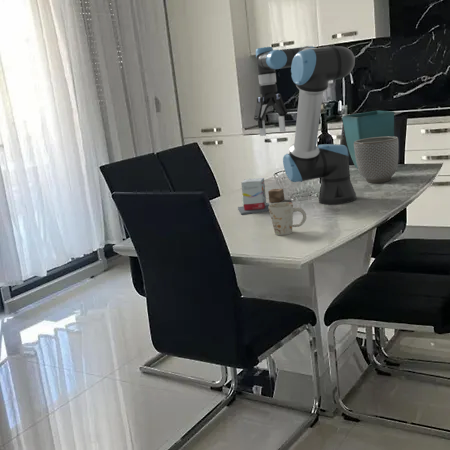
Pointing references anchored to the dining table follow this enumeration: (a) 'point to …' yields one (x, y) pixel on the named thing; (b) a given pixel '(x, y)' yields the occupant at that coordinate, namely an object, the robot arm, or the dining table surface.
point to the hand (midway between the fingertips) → (273, 133)
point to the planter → (377, 158)
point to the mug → (284, 217)
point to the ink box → (253, 194)
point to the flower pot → (367, 127)
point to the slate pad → (253, 210)
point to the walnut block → (276, 195)
